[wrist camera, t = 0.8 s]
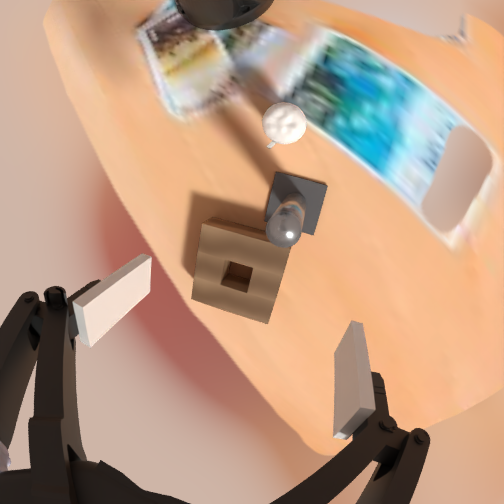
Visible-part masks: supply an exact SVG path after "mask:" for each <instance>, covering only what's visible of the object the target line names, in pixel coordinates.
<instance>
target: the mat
mask: <svg viewBox="0 0 504 504" xmlns="http://www.w3.org/2000/svg"><path fill="white" fill-rule="evenodd" d="M326 190H327V185H323V184H320V183H317V182H313V181H310V180H306V179H302V178H299V177H295V176H291V175H287V174H284V173H280V172H276V174H275V178H274V182H273V187H272V191H271V195H270V199H269V203H268V207H267V212H266V216H265V220H264V221H265V222H268V221H269V219H270V218H271V217H272V215H273V214H274V213H275V211H276V210H277V209H278V207H279V206H280V205H281V203H282V202H283V201H284V199H285V198H286V197H287V196H288V195H289V194H291V193H299V194H301V195H303V196H304V198H305V199H306V203H307V205H306V211H305V216H304V221H303V226H302V231H301V232H304V233H307V234H310V235H314V232H315V229H316V225H317V222H318V218H319V215H320V211H321V208H322V204H323V201H324V197H325V194H326Z"/></svg>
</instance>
